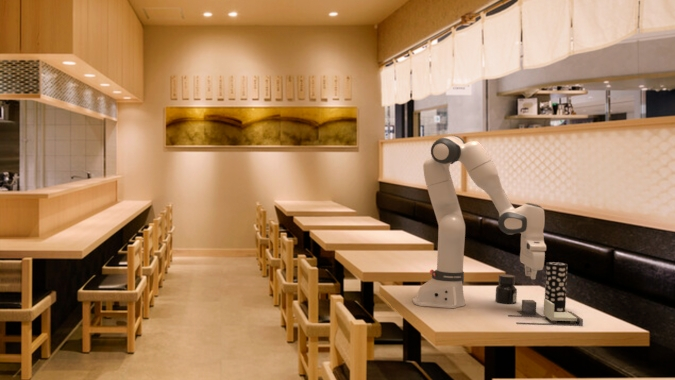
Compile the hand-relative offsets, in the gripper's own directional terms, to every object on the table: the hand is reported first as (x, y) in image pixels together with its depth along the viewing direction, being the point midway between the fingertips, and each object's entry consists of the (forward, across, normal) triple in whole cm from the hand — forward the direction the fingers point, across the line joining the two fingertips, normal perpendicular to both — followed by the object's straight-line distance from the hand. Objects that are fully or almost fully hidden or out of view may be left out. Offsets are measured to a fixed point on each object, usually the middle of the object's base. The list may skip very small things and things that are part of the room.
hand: (530, 277), depth 261 cm
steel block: (+15, 0, 0) cm, 15 cm away
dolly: (+15, +12, +9) cm, 21 cm away
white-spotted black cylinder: (+15, -7, +13) cm, 21 cm away
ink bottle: (+15, -20, -4) cm, 25 cm away
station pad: (+15, 0, 0) cm, 15 cm away
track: (+15, +12, +2) cm, 19 cm away
